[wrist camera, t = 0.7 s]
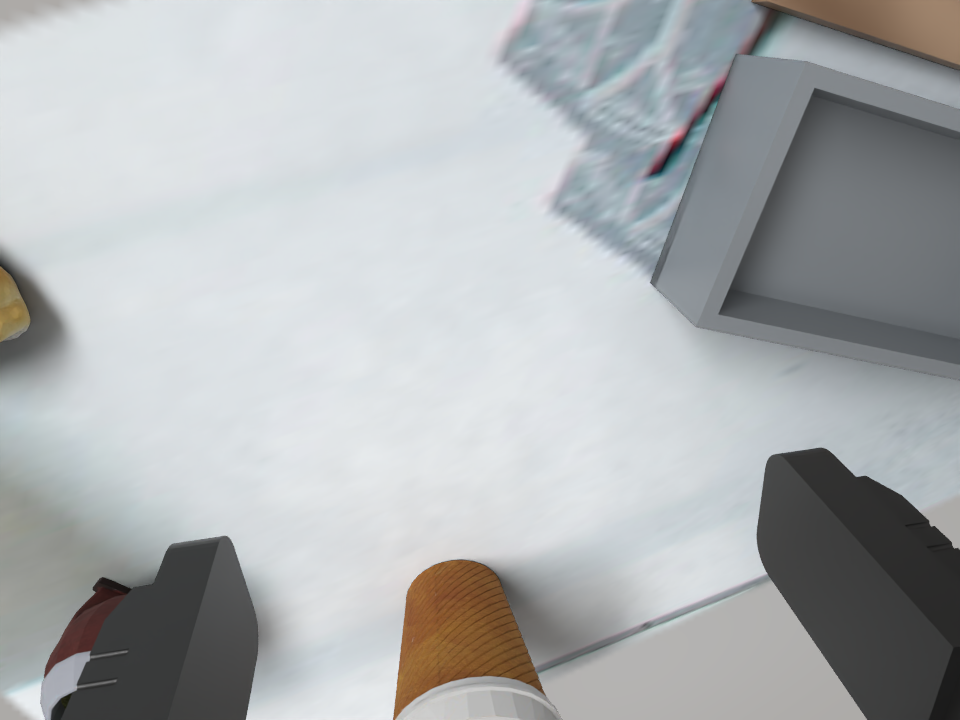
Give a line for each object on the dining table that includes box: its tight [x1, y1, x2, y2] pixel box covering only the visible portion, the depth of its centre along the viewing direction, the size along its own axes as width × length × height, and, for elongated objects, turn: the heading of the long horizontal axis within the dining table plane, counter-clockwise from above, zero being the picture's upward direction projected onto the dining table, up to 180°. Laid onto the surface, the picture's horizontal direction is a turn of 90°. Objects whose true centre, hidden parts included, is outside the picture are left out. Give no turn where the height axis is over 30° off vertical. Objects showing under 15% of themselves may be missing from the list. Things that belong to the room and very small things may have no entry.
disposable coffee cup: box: [393, 560, 562, 720], centre depth 40 cm, size 10×10×12 cm
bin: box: [650, 54, 960, 380], centre depth 35 cm, size 22×12×6 cm, turn 75°
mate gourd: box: [40, 577, 154, 720], centre depth 36 cm, size 8×8×15 cm
